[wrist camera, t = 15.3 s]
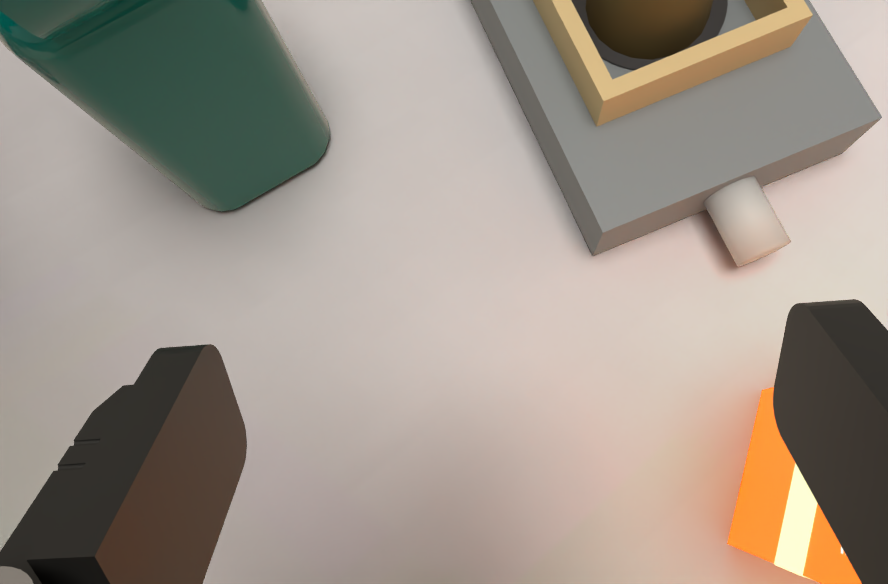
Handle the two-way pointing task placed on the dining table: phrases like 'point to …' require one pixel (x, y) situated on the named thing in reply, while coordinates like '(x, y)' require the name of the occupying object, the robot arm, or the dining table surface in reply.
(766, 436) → the orange juice
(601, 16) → the cork
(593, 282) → the dining table surface
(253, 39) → the pitcher
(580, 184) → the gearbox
